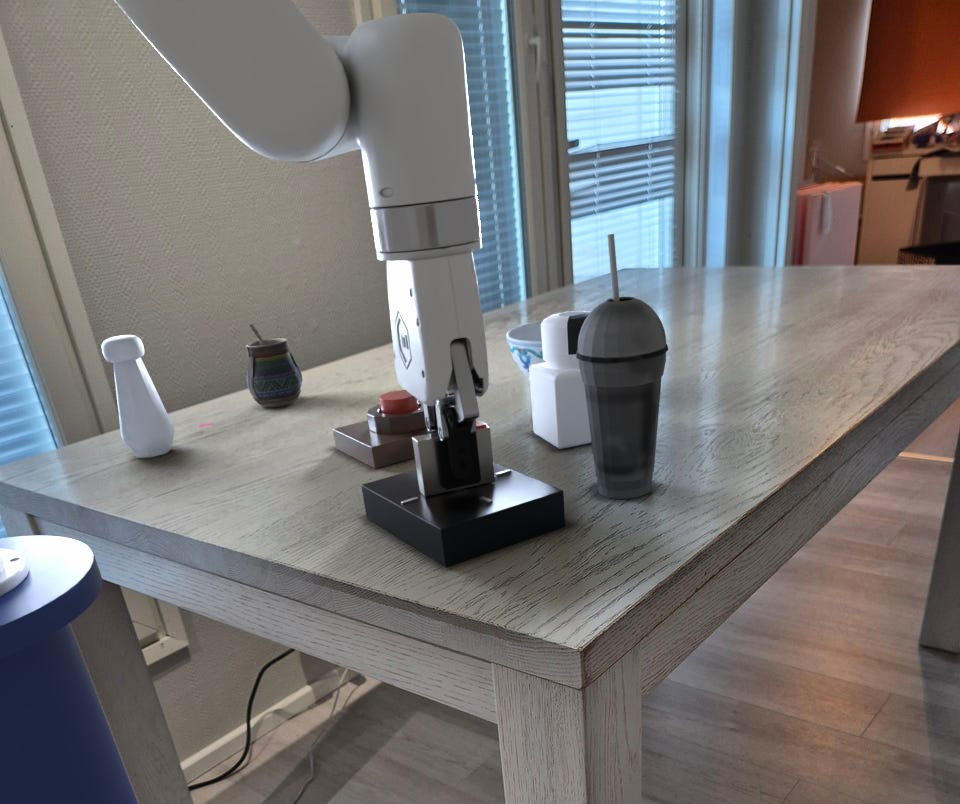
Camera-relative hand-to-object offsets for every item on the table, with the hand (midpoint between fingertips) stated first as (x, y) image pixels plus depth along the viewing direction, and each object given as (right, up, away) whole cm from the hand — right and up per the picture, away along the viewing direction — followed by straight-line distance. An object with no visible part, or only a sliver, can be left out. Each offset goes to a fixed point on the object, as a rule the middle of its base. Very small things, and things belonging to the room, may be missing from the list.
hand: (456, 479), depth 70 cm
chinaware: (+13, +17, +35) cm, 41 cm away
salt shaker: (-36, +9, +31) cm, 49 cm away
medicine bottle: (+12, +8, +20) cm, 25 cm away
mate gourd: (-25, +19, +47) cm, 56 cm away
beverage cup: (+14, 0, +5) cm, 15 cm away
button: (-7, +11, +21) cm, 25 cm away
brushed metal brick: (0, 0, 0) cm, 1 cm away
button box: (-6, +8, +23) cm, 25 cm away
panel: (0, -3, +2) cm, 4 cm away
